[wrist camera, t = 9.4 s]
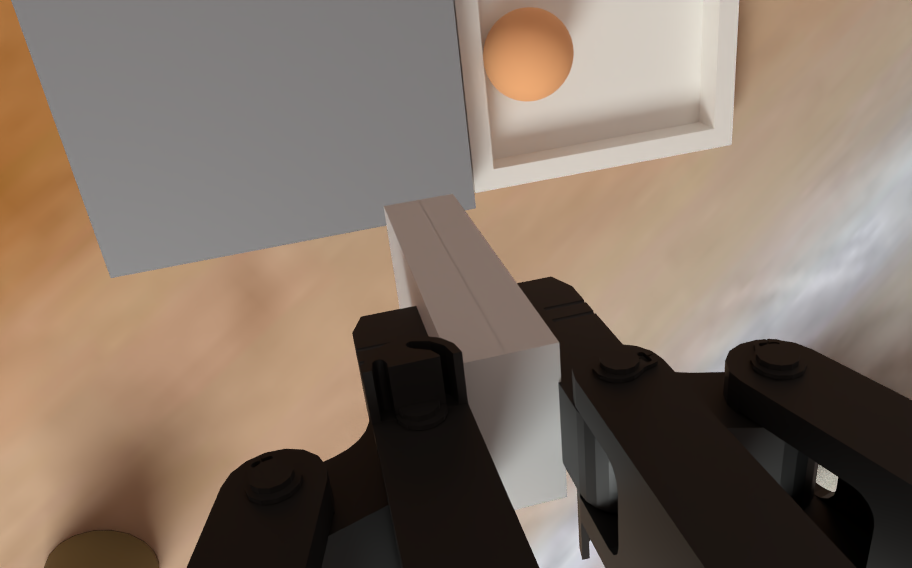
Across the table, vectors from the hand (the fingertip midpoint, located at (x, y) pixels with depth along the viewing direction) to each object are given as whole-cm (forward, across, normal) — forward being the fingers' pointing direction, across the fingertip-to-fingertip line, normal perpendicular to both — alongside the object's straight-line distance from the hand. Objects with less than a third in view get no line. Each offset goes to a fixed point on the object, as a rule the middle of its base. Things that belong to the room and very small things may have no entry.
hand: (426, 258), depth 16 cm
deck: (+21, +3, 0) cm, 21 cm away
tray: (+21, -12, -1) cm, 24 cm away
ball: (+18, -8, -1) cm, 20 cm away
